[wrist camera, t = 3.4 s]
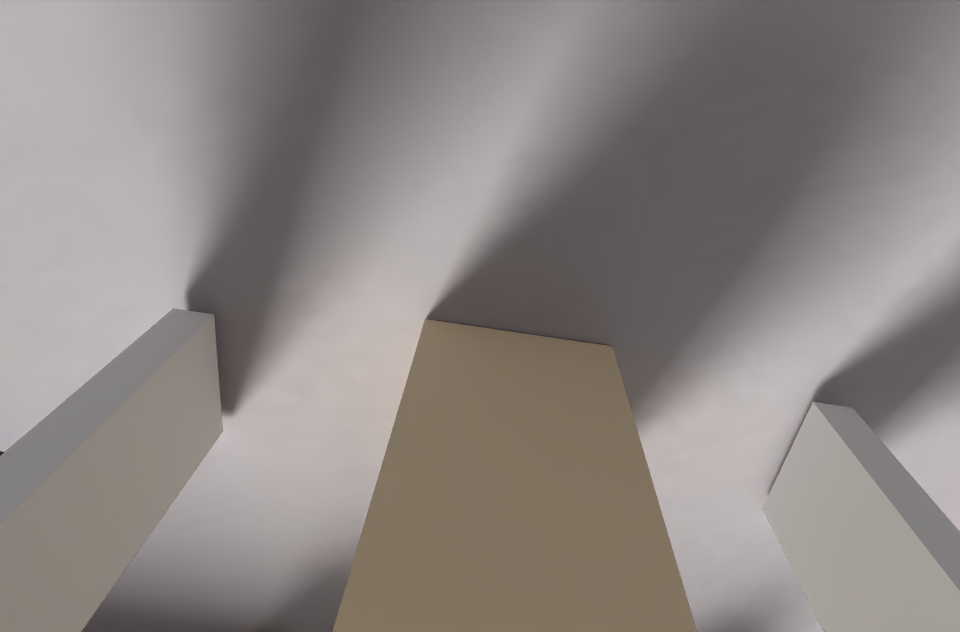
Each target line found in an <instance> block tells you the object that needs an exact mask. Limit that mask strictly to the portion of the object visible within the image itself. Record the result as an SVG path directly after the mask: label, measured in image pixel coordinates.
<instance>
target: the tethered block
mask: <svg viewBox="0 0 960 632" xmlns="http://www.w3.org/2000/svg"><path fill="white" fill-rule="evenodd" d="M332 632H697V631H696V627H695V624H694V620H693V617H692V614H691V610H690V607H689V604H688V600H687V597H686V593H685V590H684V587H683V583H682V580H681V576H680V573H679V570H678V566H677V563H676V560H675V556H674V553H673V549H672V546H671V543H670V539H669V536H668V533H667V529H666V526H665V522H664V519H663V516H662V512H661V509H660V506H659V502H658V499H657V495H656V492H655V489H654V485H653V482H652V478H651V475H650V472H649V468H648V465H647V462H646V458H645V455H644V451H643V448H642V445H641V441H640V438H639V435H638V431H637V428H636V424H635V421H634V418H633V414H632V411H631V407H630V404H629V401H628V397H627V394H626V391H625V387H624V384H623V380H622V377H621V374H620V370H619V367H618V364H617V360H616V357H615V353H614V350H613V347H612V346H606V345H599V344H593V343H586V342H579V341H572V340H565V339H558V338H552V337H545V336H538V335H531V334H524V333H517V332H511V331H504V330H497V329H490V328H483V327H476V326H470V325H463V324H456V323H449V322H442V321H435V320H428V319H425V321H424V325H423V328H422V331H421V335H420V338H419V342H418V345H417V348H416V352H415V355H414V358H413V362H412V365H411V369H410V372H409V375H408V379H407V382H406V385H405V389H404V392H403V395H402V399H401V402H400V406H399V409H398V412H397V416H396V419H395V422H394V426H393V429H392V433H391V436H390V439H389V443H388V446H387V449H386V453H385V456H384V459H383V463H382V466H381V470H380V473H379V476H378V480H377V483H376V486H375V490H374V493H373V497H372V500H371V503H370V507H369V510H368V513H367V517H366V520H365V523H364V527H363V530H362V534H361V537H360V540H359V544H358V547H357V550H356V554H355V557H354V560H353V564H352V567H351V571H350V574H349V577H348V581H347V584H346V587H345V591H344V594H343V598H342V601H341V604H340V608H339V611H338V614H337V618H336V621H335V624H334V628H333V631H332Z"/></svg>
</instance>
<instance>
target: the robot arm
mask: <svg viewBox="0 0 960 632" xmlns="http://www.w3.org/2000/svg"><path fill="white" fill-rule="evenodd" d="M222 432H223V426H222V413H221V400H220V386H219V373H218V360H217V346H216V333H215V320H214V314H207V313H201V312H194V311H187V310H180V309H172V310H171V311H170V312H169V313H168V314H166V315H165V316H164V317H163V318H162V319H160V320H159V321H158V322H157V323H156V324H155V325H153V326H152V327H151V328H150V329H149V330H148V331H146V332H145V333H144V334H143V335H142V336H141V337H139V338H138V339H137V340H136V341H135V342H133V343H132V344H131V345H130V346H129V347H128V348H126V349H125V350H124V351H123V352H122V353H121V354H119V355H118V356H117V357H116V358H115V359H113V360H112V361H111V362H110V363H109V364H108V365H106V366H105V367H104V368H103V369H102V370H101V371H99V372H98V373H97V374H96V375H95V376H93V377H92V378H91V379H90V380H89V381H88V382H86V383H85V384H84V385H83V386H82V387H81V388H79V389H78V390H77V391H76V392H75V393H74V394H72V395H71V396H70V397H69V398H68V399H66V400H65V401H64V402H63V403H62V404H61V405H59V406H58V407H57V408H56V409H55V410H54V411H52V412H51V413H50V414H49V415H48V416H46V417H45V418H44V419H43V420H42V421H41V422H39V423H38V424H37V425H36V426H35V427H34V428H32V429H31V430H30V431H29V432H28V433H26V434H25V435H24V436H23V437H22V438H21V439H19V440H18V441H17V442H16V443H15V444H14V445H12V446H11V447H10V448H9V449H8V450H7V451H5V452H1V451H0V632H81V631H82V630H83V629H84V627H85V626H86V624H87V623H88V621H89V620H90V619H91V617H92V616H93V614H94V613H95V612H96V610H97V609H98V607H99V606H100V605H101V603H102V602H103V600H104V599H105V597H106V596H107V595H108V593H109V592H110V590H111V589H112V588H113V586H114V585H115V583H116V582H117V580H118V579H119V578H120V576H121V575H122V573H123V572H124V571H125V569H126V568H127V566H128V565H129V563H130V562H131V561H132V559H133V558H134V556H135V555H136V554H137V552H138V551H139V549H140V548H141V546H142V545H143V544H144V542H145V541H146V539H147V538H148V537H149V535H150V534H151V532H152V531H153V529H154V528H155V527H156V525H157V524H158V522H159V521H160V520H161V518H162V517H163V515H164V514H165V513H166V511H167V510H168V508H169V507H170V505H171V504H172V503H173V501H174V500H175V498H176V497H177V496H178V494H179V493H180V491H181V490H182V488H183V487H184V486H185V484H186V483H187V481H188V480H189V479H190V477H191V476H192V474H193V473H194V471H195V470H196V469H197V467H198V466H199V464H200V463H201V462H202V460H203V459H204V457H205V456H206V454H207V453H208V452H209V450H210V449H211V447H212V446H213V445H214V443H215V442H216V440H217V439H218V437H219V436H220V435H221V433H222ZM762 509H763V511H764V513H765V515H766V517H767V519H768V521H769V523H770V525H771V527H772V529H773V531H774V533H775V535H776V537H777V539H778V541H779V543H780V545H781V547H782V549H783V551H784V553H785V555H786V557H787V559H788V561H789V563H790V565H791V567H792V569H793V571H794V573H795V575H796V577H797V579H798V581H799V583H800V585H801V587H802V589H803V591H804V593H805V595H806V597H807V599H808V601H809V603H810V605H811V607H812V609H813V611H814V613H815V615H816V617H817V619H818V621H819V623H820V625H821V627H822V629H823V631H824V632H960V531H959V530H958V529H957V528H956V527H955V526H954V524H953V523H952V522H951V521H950V520H949V519H948V518H947V516H946V515H945V514H944V513H943V512H942V511H941V509H940V508H939V507H938V506H937V505H936V504H935V502H934V501H933V500H932V499H931V498H930V497H929V496H928V494H927V493H926V492H925V491H924V490H923V489H922V487H921V486H920V485H919V484H918V483H917V482H916V481H915V479H914V478H913V477H912V476H911V475H910V474H909V472H908V471H907V470H906V469H905V468H904V467H903V465H902V464H901V463H900V462H899V461H898V460H897V459H896V457H895V456H894V455H893V454H892V453H891V452H890V450H889V449H888V448H887V447H886V446H885V445H884V444H883V442H882V441H881V440H880V439H879V438H878V437H877V435H876V434H875V433H874V432H873V431H872V430H871V428H870V427H869V426H868V425H867V424H866V423H865V422H864V420H863V419H862V418H861V417H860V416H859V415H858V413H857V412H856V411H855V410H854V409H853V408H852V407H845V406H838V405H831V404H825V403H818V402H813V403H812V405H811V407H810V409H809V411H808V413H807V415H806V417H805V419H804V422H803V424H802V426H801V428H800V430H799V432H798V434H797V436H796V438H795V440H794V443H793V445H792V447H791V449H790V451H789V453H788V455H787V457H786V459H785V461H784V464H783V466H782V468H781V470H780V472H779V474H778V476H777V478H776V480H775V482H774V485H773V487H772V489H771V491H770V493H769V495H768V497H767V499H766V501H765V503H764V506H763V508H762Z"/></svg>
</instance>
